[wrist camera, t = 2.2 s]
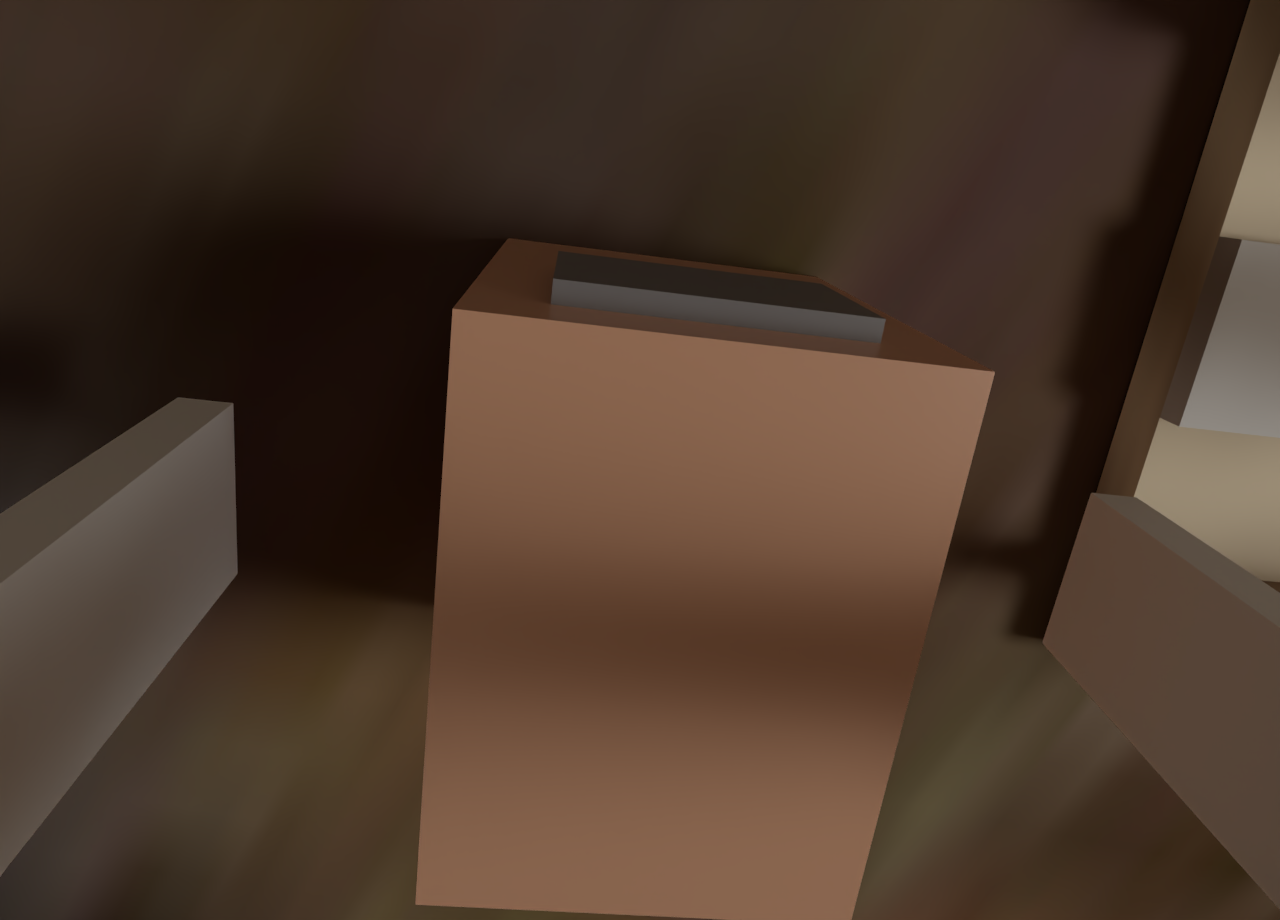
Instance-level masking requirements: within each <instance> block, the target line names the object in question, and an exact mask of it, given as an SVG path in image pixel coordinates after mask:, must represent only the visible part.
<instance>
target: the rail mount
mask: <svg viewBox="0 0 1280 920" xmlns="http://www.w3.org/2000/svg"><path fill="white" fill-rule="evenodd" d="M1096 493H1100V494H1109V495H1119V496H1128V497H1136V498H1138V499H1139V500H1141V501H1142V502H1144V503H1146V504H1147V505H1149V506H1150V507H1152V508H1153V509H1155V510H1156V511H1158V512H1159V513H1161V514H1162V515H1164V516H1165V517H1167V518H1168V519H1170V520H1171V521H1173V522H1174V523H1176V524H1177V525H1179V526H1180V527H1182V528H1183V529H1185V530H1186V531H1188V532H1189V533H1191V534H1192V535H1194V536H1195V537H1197V538H1198V539H1200V540H1201V541H1203V542H1204V543H1206V544H1207V545H1209V546H1210V547H1212V548H1213V549H1215V550H1216V551H1218V552H1219V553H1221V554H1222V555H1224V556H1225V557H1227V558H1228V559H1230V560H1231V561H1233V562H1234V563H1236V564H1237V565H1239V566H1240V567H1242V568H1243V569H1245V570H1246V571H1248V572H1249V573H1251V574H1252V575H1254V576H1255V577H1257V578H1258V579H1260V580H1261V581H1263V582H1264V583H1266V584H1267V585H1269V586H1270V587H1272V588H1273V589H1275V590H1276V591H1278V592H1279V593H1280V0H1250V4H1249V7H1248V10H1247V13H1246V16H1245V19H1244V23H1243V26H1242V29H1241V32H1240V35H1239V39H1238V42H1237V45H1236V48H1235V51H1234V55H1233V58H1232V61H1231V64H1230V67H1229V70H1228V74H1227V77H1226V80H1225V83H1224V86H1223V90H1222V93H1221V96H1220V99H1219V102H1218V106H1217V109H1216V112H1215V115H1214V118H1213V121H1212V125H1211V128H1210V131H1209V134H1208V137H1207V141H1206V144H1205V147H1204V150H1203V153H1202V156H1201V160H1200V163H1199V166H1198V169H1197V172H1196V176H1195V179H1194V182H1193V185H1192V188H1191V192H1190V195H1189V198H1188V201H1187V204H1186V207H1185V211H1184V214H1183V217H1182V220H1181V223H1180V227H1179V230H1178V233H1177V236H1176V239H1175V243H1174V246H1173V249H1172V252H1171V255H1170V258H1169V262H1168V265H1167V268H1166V271H1165V274H1164V278H1163V281H1162V284H1161V287H1160V290H1159V294H1158V297H1157V300H1156V303H1155V306H1154V309H1153V313H1152V316H1151V319H1150V322H1149V325H1148V329H1147V332H1146V335H1145V338H1144V341H1143V344H1142V348H1141V351H1140V354H1139V357H1138V360H1137V364H1136V367H1135V370H1134V373H1133V376H1132V380H1131V383H1130V386H1129V389H1128V392H1127V395H1126V399H1125V402H1124V405H1123V408H1122V411H1121V415H1120V418H1119V421H1118V424H1117V427H1116V431H1115V434H1114V437H1113V440H1112V443H1111V446H1110V450H1109V453H1108V456H1107V459H1106V462H1105V466H1104V469H1103V472H1102V475H1101V478H1100V482H1099V485H1098V488H1097V491H1096Z"/></svg>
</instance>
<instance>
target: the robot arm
mask: <svg viewBox="0 0 1280 920" xmlns="http://www.w3.org/2000/svg"><path fill="white" fill-rule="evenodd" d="M237 574H238V567H237V527H236V487H235V447H234V408H233V403H228V402H218V401H209V400H199V399H190V398H180V397H178V398H176V399H175V400H173V401H172V402H170V403H169V404H167V405H165V406H164V407H162V408H161V409H159V410H158V411H156V412H155V413H153V414H152V415H150V416H149V417H147V418H146V419H144V420H143V421H141V422H139V423H138V424H136V425H135V426H133V427H132V428H130V429H129V430H127V431H126V432H124V433H123V434H121V435H120V436H118V437H117V438H115V439H114V440H112V441H110V442H109V443H107V444H106V445H104V446H103V447H101V448H100V449H98V450H97V451H95V452H94V453H92V454H91V455H89V456H88V457H86V458H84V459H83V460H81V461H80V462H78V463H77V464H75V465H74V466H72V467H71V468H69V469H68V470H66V471H65V472H63V473H62V474H60V475H58V476H57V477H55V478H54V479H52V480H51V481H49V482H48V483H46V484H45V485H43V486H42V487H40V488H39V489H37V490H36V491H34V492H33V493H31V494H29V495H28V496H26V497H25V498H23V499H22V500H20V501H19V502H17V503H16V504H14V505H13V506H11V507H10V508H8V509H7V510H5V511H3V512H2V513H0V876H1V875H2V873H3V872H4V871H5V869H6V868H7V867H8V866H9V864H10V863H11V862H12V861H13V859H14V858H15V857H16V855H17V854H18V853H19V852H20V850H21V849H22V848H23V847H24V845H25V844H26V843H27V841H28V840H29V839H30V838H31V836H32V835H33V834H34V833H35V831H36V830H37V829H38V827H39V826H40V825H41V824H42V822H43V821H44V820H45V818H46V817H47V816H48V815H49V813H50V812H51V811H52V810H53V808H54V807H55V806H56V804H57V803H58V802H59V801H60V799H61V798H62V797H63V796H64V794H65V793H66V792H67V790H68V789H69V788H70V787H71V785H72V784H73V783H74V782H75V780H76V779H77V778H78V776H79V775H80V774H81V773H82V771H83V770H84V769H85V768H86V766H87V765H88V764H89V762H90V761H91V760H92V759H93V757H94V756H95V755H96V753H97V752H98V751H99V750H100V748H101V747H102V746H103V745H104V743H105V742H106V741H107V739H108V738H109V737H110V736H111V734H112V733H113V732H114V731H115V729H116V728H117V727H118V725H119V724H120V723H121V722H122V720H123V719H124V718H125V717H126V715H127V714H128V713H129V711H130V710H131V709H132V708H133V706H134V705H135V704H136V703H137V701H138V700H139V699H140V697H141V696H142V695H143V694H144V692H145V691H146V690H147V689H148V687H149V686H150V685H151V683H152V682H153V681H154V680H155V678H156V677H157V676H158V674H159V673H160V672H161V671H162V669H163V668H164V667H165V666H166V664H167V663H168V662H169V660H170V659H171V658H172V657H173V655H174V654H175V653H176V652H177V650H178V649H179V648H180V646H181V645H182V644H183V643H184V641H185V640H186V639H187V638H188V636H189V635H190V634H191V632H192V631H193V630H194V629H195V627H196V626H197V625H198V624H199V622H200V621H201V620H202V618H203V617H204V616H205V615H206V613H207V612H208V611H209V610H210V608H211V607H212V606H213V604H214V603H215V602H216V601H217V599H218V598H219V597H220V595H221V594H222V593H223V592H224V590H225V589H226V588H227V587H228V585H229V584H230V583H231V581H232V580H233V579H234V578H235V576H236V575H237ZM1042 643H1043V645H1044V646H1045V647H1046V648H1047V649H1048V650H1049V651H1050V652H1051V654H1052V655H1053V656H1054V657H1055V658H1056V659H1057V660H1058V661H1059V663H1060V664H1061V665H1062V666H1063V667H1064V668H1065V669H1066V670H1067V671H1068V673H1069V674H1070V675H1071V676H1072V677H1073V678H1074V679H1075V680H1076V682H1077V683H1078V684H1079V685H1080V686H1081V687H1082V688H1083V689H1084V691H1085V692H1086V693H1087V694H1088V695H1089V696H1090V697H1091V698H1092V699H1093V701H1094V702H1095V703H1096V704H1097V705H1098V706H1099V707H1100V708H1101V710H1102V711H1103V712H1104V713H1105V714H1106V715H1107V716H1108V717H1109V719H1110V720H1111V721H1112V722H1113V723H1114V724H1115V725H1116V726H1117V728H1118V729H1119V730H1120V731H1121V732H1122V733H1123V734H1124V735H1125V736H1126V738H1127V739H1128V740H1129V741H1130V742H1131V743H1132V744H1133V745H1134V747H1135V748H1136V749H1137V750H1138V751H1139V752H1140V753H1141V754H1142V756H1143V757H1144V758H1145V759H1146V760H1147V761H1148V762H1149V763H1150V765H1151V766H1152V767H1153V768H1154V769H1155V770H1156V771H1157V772H1158V773H1159V775H1160V776H1161V777H1162V778H1163V779H1164V780H1165V781H1166V782H1167V784H1168V785H1169V786H1170V787H1171V788H1172V789H1173V790H1174V791H1175V793H1176V794H1177V795H1178V796H1179V797H1180V798H1181V799H1182V800H1183V801H1184V803H1185V804H1186V805H1187V806H1188V807H1189V808H1190V809H1191V810H1192V812H1193V813H1194V814H1195V815H1196V816H1197V817H1198V818H1199V819H1200V821H1201V822H1202V823H1203V824H1204V825H1205V826H1206V827H1207V828H1208V830H1209V831H1210V832H1211V833H1212V834H1213V835H1214V836H1215V837H1216V838H1217V840H1218V841H1219V842H1220V843H1221V844H1222V845H1223V846H1224V847H1225V849H1226V850H1227V851H1228V852H1229V853H1230V854H1231V855H1232V856H1233V858H1234V859H1235V860H1236V861H1237V862H1238V863H1239V864H1240V865H1241V867H1242V868H1243V869H1244V870H1245V871H1246V872H1247V873H1248V874H1249V875H1250V877H1251V878H1252V879H1253V880H1254V881H1255V882H1256V883H1257V884H1258V886H1259V887H1260V888H1261V889H1262V890H1263V891H1264V892H1265V893H1266V895H1267V896H1268V897H1269V898H1270V899H1271V900H1272V901H1273V902H1274V904H1275V905H1276V906H1277V907H1278V908H1279V909H1280V593H1279V592H1278V591H1276V590H1275V589H1273V588H1272V587H1270V586H1269V585H1267V584H1266V583H1264V582H1263V581H1261V580H1260V579H1258V578H1257V577H1255V576H1254V575H1252V574H1251V573H1249V572H1248V571H1246V570H1245V569H1243V568H1242V567H1240V566H1239V565H1237V564H1236V563H1234V562H1233V561H1231V560H1230V559H1228V558H1227V557H1225V556H1224V555H1222V554H1221V553H1219V552H1218V551H1216V550H1215V549H1213V548H1212V547H1210V546H1209V545H1207V544H1206V543H1204V542H1203V541H1201V540H1200V539H1198V538H1197V537H1195V536H1194V535H1192V534H1191V533H1189V532H1188V531H1186V530H1185V529H1183V528H1182V527H1180V526H1179V525H1177V524H1176V523H1174V522H1173V521H1171V520H1170V519H1168V518H1167V517H1165V516H1164V515H1162V514H1161V513H1159V512H1158V511H1156V510H1155V509H1153V508H1152V507H1150V506H1149V505H1147V504H1146V503H1144V502H1142V501H1141V500H1139V499H1138V498H1136V497H1128V496H1119V495H1109V494H1100V493H1091V494H1090V497H1089V500H1088V503H1087V506H1086V509H1085V513H1084V516H1083V519H1082V522H1081V525H1080V528H1079V531H1078V534H1077V537H1076V540H1075V543H1074V546H1073V549H1072V553H1071V556H1070V559H1069V562H1068V565H1067V568H1066V571H1065V574H1064V577H1063V580H1062V583H1061V586H1060V589H1059V593H1058V596H1057V599H1056V602H1055V605H1054V608H1053V611H1052V614H1051V617H1050V620H1049V623H1048V626H1047V629H1046V633H1045V636H1044V639H1043V642H1042Z"/></svg>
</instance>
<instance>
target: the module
mask: <svg viewBox="0 0 1280 920" xmlns="http://www.w3.org/2000/svg"><path fill="white" fill-rule="evenodd" d="M994 374H995V372H994V371H992V370H991V369H989V368H987V367H985V366H983V365H981V364H979V363H977V362H976V361H974V360H972V359H970V358H968V357H966V356H964V355H962V354H960V353H959V352H957V351H955V350H953V349H951V348H949V347H947V346H945V345H944V344H942V343H940V342H938V341H936V340H934V339H932V338H930V337H929V336H927V335H925V334H923V333H921V332H919V331H917V330H915V329H913V328H912V327H910V326H908V325H906V324H904V323H902V322H900V321H898V320H897V319H895V318H893V317H891V316H889V315H887V314H885V313H883V312H882V311H880V310H878V309H876V308H874V307H872V306H870V305H868V304H866V303H865V302H863V301H861V300H859V299H857V298H855V297H853V296H851V295H850V294H848V293H846V292H844V291H842V290H840V289H838V288H836V287H835V286H833V285H831V284H829V283H827V282H825V281H823V280H821V279H819V278H818V277H814V276H806V275H798V274H790V273H782V272H774V271H766V270H758V269H750V268H742V267H734V266H726V265H718V264H710V263H702V262H694V261H686V260H679V259H671V258H663V257H655V256H647V255H639V254H631V253H623V252H615V251H607V250H599V249H591V248H583V247H575V246H567V245H559V244H551V243H543V242H535V241H527V240H519V239H511V238H508V239H507V240H506V242H505V243H504V244H503V245H502V247H501V248H500V249H499V250H498V252H497V253H496V254H495V256H494V257H493V258H492V259H491V261H490V262H489V263H488V264H487V266H486V267H485V268H484V269H483V271H482V272H481V273H480V275H479V276H478V277H477V278H476V280H475V281H474V282H473V283H472V285H471V286H470V287H469V288H468V290H467V291H466V292H465V294H464V295H463V296H462V297H461V299H460V300H459V301H458V302H457V304H456V305H455V306H454V307H453V310H452V326H451V342H450V358H449V374H448V390H447V406H446V422H445V438H444V454H443V470H442V486H441V502H440V518H439V535H438V551H437V567H436V583H435V599H434V615H433V631H432V647H431V663H430V679H429V695H428V711H427V727H426V743H425V759H424V775H423V791H422V807H421V823H420V839H419V855H418V871H417V887H416V903H415V905H433V906H453V907H474V908H495V909H516V910H537V911H558V912H579V913H600V914H620V915H641V916H662V917H683V918H704V919H725V920H851V919H852V915H853V911H854V907H855V904H856V900H857V896H858V892H859V888H860V885H861V881H862V877H863V873H864V869H865V865H866V862H867V858H868V854H869V850H870V846H871V843H872V839H873V835H874V831H875V827H876V824H877V820H878V816H879V812H880V808H881V805H882V801H883V797H884V793H885V789H886V786H887V782H888V778H889V774H890V770H891V766H892V763H893V759H894V755H895V751H896V747H897V744H898V740H899V736H900V732H901V728H902V725H903V721H904V717H905V713H906V709H907V706H908V702H909V698H910V694H911V690H912V686H913V683H914V679H915V675H916V671H917V667H918V664H919V660H920V656H921V652H922V648H923V645H924V641H925V637H926V633H927V629H928V626H929V622H930V618H931V614H932V610H933V606H934V603H935V599H936V595H937V591H938V587H939V584H940V580H941V576H942V572H943V568H944V565H945V561H946V557H947V553H948V549H949V546H950V542H951V538H952V534H953V530H954V527H955V523H956V519H957V515H958V511H959V507H960V504H961V500H962V496H963V492H964V488H965V485H966V481H967V477H968V473H969V469H970V466H971V462H972V458H973V454H974V450H975V447H976V443H977V439H978V435H979V431H980V427H981V424H982V420H983V416H984V412H985V408H986V405H987V401H988V397H989V393H990V389H991V386H992V382H993V378H994Z"/></svg>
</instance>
